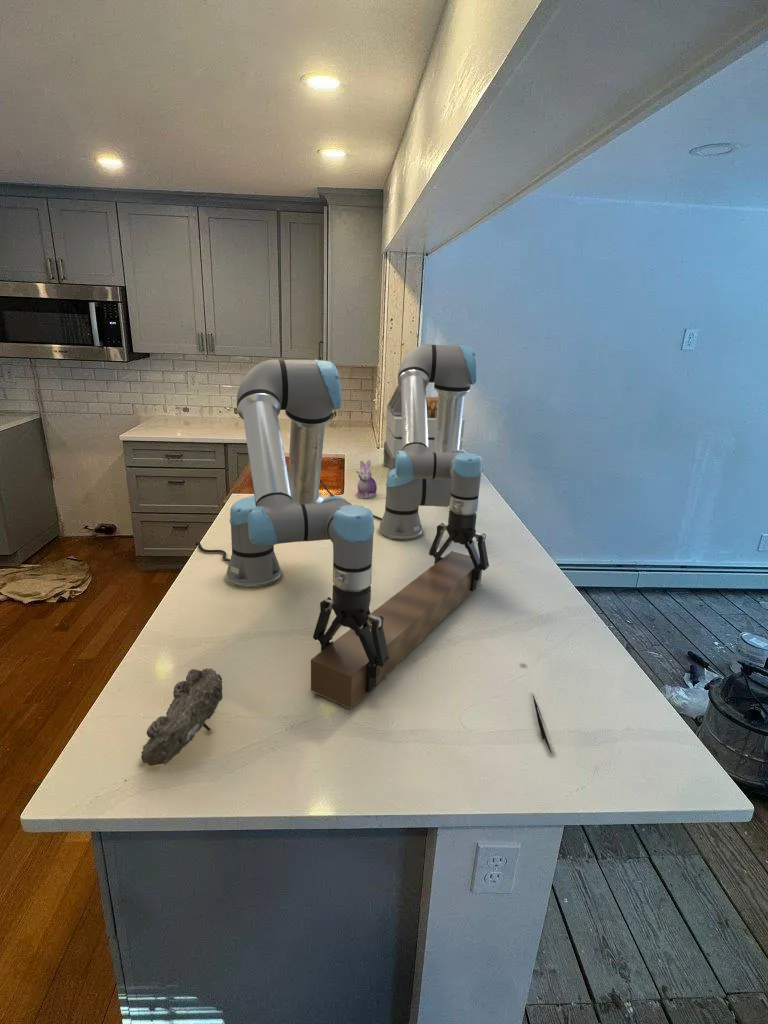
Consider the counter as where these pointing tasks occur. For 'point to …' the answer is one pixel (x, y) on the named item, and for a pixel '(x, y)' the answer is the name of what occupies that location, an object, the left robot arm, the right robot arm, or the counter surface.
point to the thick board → (393, 629)
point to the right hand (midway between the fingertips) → (455, 584)
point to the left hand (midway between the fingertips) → (349, 679)
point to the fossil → (183, 716)
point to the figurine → (366, 481)
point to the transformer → (395, 427)
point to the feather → (541, 724)
